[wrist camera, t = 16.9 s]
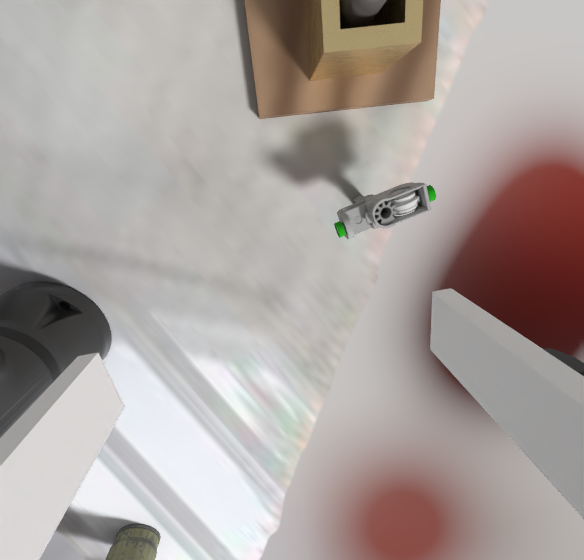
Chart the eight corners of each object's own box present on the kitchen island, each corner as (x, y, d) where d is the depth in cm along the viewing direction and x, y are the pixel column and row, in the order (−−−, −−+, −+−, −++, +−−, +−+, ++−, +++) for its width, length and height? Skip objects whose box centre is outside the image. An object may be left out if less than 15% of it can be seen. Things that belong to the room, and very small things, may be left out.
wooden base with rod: (259, 118, 34) (252, 92, 21) (239, -41, 29) (214, -204, 16) (427, 100, 35) (521, 64, 22) (437, -60, 30) (568, -233, 17)
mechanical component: (319, 205, 39) (334, 219, 29) (393, 174, 38) (433, 179, 29) (326, 226, 40) (343, 245, 30) (399, 197, 39) (439, 208, 30)
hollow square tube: (310, 81, 32) (323, 52, 24) (303, -15, 29) (316, -85, 21) (382, 73, 32) (421, 42, 24) (383, -23, 29) (427, -96, 21)
